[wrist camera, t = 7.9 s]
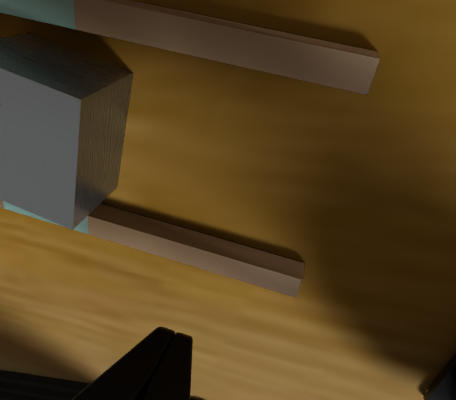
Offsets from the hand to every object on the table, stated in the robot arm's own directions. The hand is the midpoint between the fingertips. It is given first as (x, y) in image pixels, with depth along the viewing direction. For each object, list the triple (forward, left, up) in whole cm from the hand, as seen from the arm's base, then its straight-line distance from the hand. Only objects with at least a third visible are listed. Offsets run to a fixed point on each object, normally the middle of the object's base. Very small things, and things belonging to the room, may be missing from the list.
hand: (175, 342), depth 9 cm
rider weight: (0, +9, -10) cm, 13 cm away
